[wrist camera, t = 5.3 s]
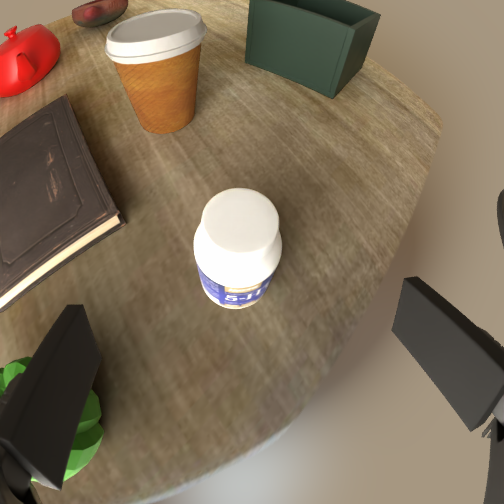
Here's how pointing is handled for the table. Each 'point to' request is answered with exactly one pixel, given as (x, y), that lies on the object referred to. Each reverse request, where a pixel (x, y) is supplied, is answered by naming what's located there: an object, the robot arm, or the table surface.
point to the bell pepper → (87, 430)
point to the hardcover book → (48, 199)
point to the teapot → (26, 58)
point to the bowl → (98, 12)
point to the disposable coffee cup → (159, 65)
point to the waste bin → (310, 40)
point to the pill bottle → (237, 247)
